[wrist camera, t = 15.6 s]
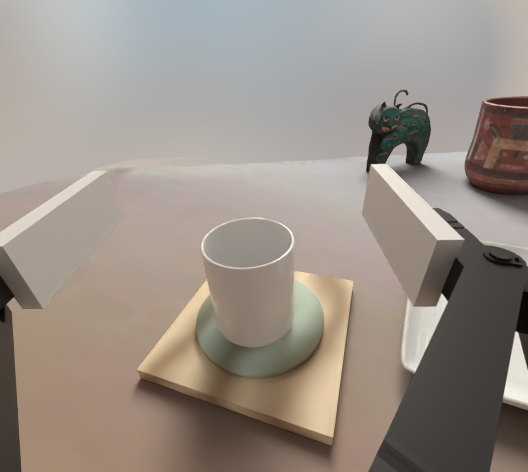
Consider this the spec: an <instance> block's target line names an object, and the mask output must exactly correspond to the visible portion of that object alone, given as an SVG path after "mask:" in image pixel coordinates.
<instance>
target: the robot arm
mask: <svg viewBox="0 0 528 472" xmlns="http://www.w3.org/2000/svg"><path fill="white" fill-rule="evenodd" d="M362 215H363V217H364V219H365V220H366V222H367V224H368V226H369V228H370V229H371V231H372V233H373V235H374V237H375V238H376V240H377V242H378V244H379V246H380V247H381V249H382V251H383V253H384V255H385V256H386V258H387V260H388V262H389V264H390V265H391V267H392V269H393V271H394V273H395V274H396V276H397V278H398V280H399V282H400V283H401V285H402V287H403V289H404V291H405V292H406V294H407V296H408V298H409V300H410V301H411V303H412V305H413V307H436V306H437V304H438V301H439V299H440V296H441V294H443V295H444V297H445V298H446V300H447V301H448V303H447V305H446V307H445V309H444V311H443V314H442V316H441V318H440V320H439V322H438V324H437V326H436V329H435V331H434V333H433V335H432V337H431V339H430V341H429V344H428V346H427V348H426V350H425V352H424V354H423V357H422V359H421V361H420V363H419V365H418V367H417V369H416V372H415V374H414V376H413V378H412V380H411V382H410V384H409V387H408V389H407V391H406V393H405V395H404V397H403V400H402V402H401V404H400V406H399V408H398V410H397V412H396V415H395V417H394V419H393V421H392V423H391V425H390V427H389V430H388V432H387V434H386V436H385V438H384V440H383V442H382V444H381V446H380V448H379V450H378V452H377V455H376V457H375V459H374V461H373V463H372V465H371V467H370V469H369V472H489V471H490V466H491V461H492V455H493V450H494V444H495V439H496V434H497V428H498V423H499V417H500V412H501V407H502V401H503V396H504V390H505V385H506V380H507V374H508V369H509V364H510V358H511V353H512V347H513V342H514V337H515V332H518V334H519V338H520V342H521V346H522V350H523V354H524V358H525V361H526V365H527V369H528V266H527V264H526V262H525V261H524V260H523V259H522V258H521V257H520V256H519V255H517V254H515V253H513V252H512V251H509V250H506V249H504V248H501V247H496V246H490V245H484V244H483V243H481V242H480V241H479V240H478V239H477V238H476V237H475V236H474V235H473V234H472V233H470V232H469V231H468V230H467V229H465V227H464V226H463V225H462V224H461V223H458V221H457V220H456V219H455V218H454V217H453V216H452V215H451V214H449V213H447V212H445V211H443V210H441V209H439V208H431V207H430V206H429V205H428V204H427V203H426V202H425V201H424V200H423V199H422V198H421V197H420V196H419V195H418V194H417V193H416V192H415V191H414V190H413V189H412V188H411V187H410V186H409V185H408V184H407V183H406V182H405V181H404V180H403V179H402V178H401V177H400V176H399V175H398V174H397V173H395V172H394V171H393V170H392V169H391V168H390V167H389V166H388V165H387V164H371V166H370V171H369V177H368V183H367V188H366V194H365V200H364V205H363V211H362ZM123 219H124V217H123V215H122V212H121V209H120V206H119V203H118V200H117V197H116V194H115V191H114V189H113V186H112V183H111V180H110V177H109V174H108V171H92V172H90V173H89V174H87V175H86V176H84V177H83V178H81V179H80V180H78V181H77V182H75V183H74V184H72V185H71V186H69V187H68V188H66V189H65V190H63V191H62V192H60V193H59V194H57V195H56V196H54V197H53V198H51V199H50V200H48V201H47V202H45V203H44V204H42V205H41V206H39V207H38V208H36V209H35V210H33V211H32V212H30V213H28V214H27V215H25V216H24V217H22V218H21V219H19V220H18V221H16V222H15V223H13V224H12V225H10V226H9V227H7V228H6V229H4V230H3V231H1V232H0V472H21V458H20V442H19V425H18V409H17V392H16V375H15V359H14V342H13V326H12V312H11V310H10V309H9V307H8V306H7V305H6V304H7V303H8V302H9V301H10V300H11V299H12V298H13V297H15V299H16V300H17V302H18V303H19V304H20V306H21V307H22V309H43V308H44V307H45V306H46V305H47V304H48V303H49V302H50V301H51V299H52V298H53V297H54V296H55V295H56V294H57V293H58V292H59V290H60V289H61V288H62V287H63V286H64V285H65V284H66V283H67V282H68V280H69V279H70V278H71V277H72V276H73V275H74V274H75V273H76V271H77V270H78V269H79V268H80V267H81V266H82V265H83V264H84V262H85V261H86V260H87V259H88V258H89V257H90V256H91V255H92V254H93V252H94V251H95V250H96V249H97V248H98V247H99V246H100V245H101V243H102V242H103V241H104V240H105V239H106V238H107V237H108V236H109V234H110V233H111V232H112V231H113V230H114V229H115V228H116V227H117V226H118V224H119V223H120V222H121V221H122V220H123Z"/></svg>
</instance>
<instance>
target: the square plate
mask: <svg viewBox="0 0 528 472" xmlns="http://www.w3.org/2000/svg"><path fill="white" fill-rule="evenodd" d="M479 241H480V242H481V243H483V244H484V245H490V246H496V247H501V248H504V249H506V250H509V251H512V252H513V253H515V254H517V255H519V256H520V257H521V258H522V259H523V260H524V261H525V262H526V264H527V266H528V248H523V247H517V246H512V245H506V244H500V243H494V242H487V241H481V240H479ZM447 303H448V301H447V300H446V298H445V297H444V295H443V294H441V296H440V299H439V301H438V304H437V306H436V307H413V305H412V303H411V301H410V300H409V298H408V296H407V304H406V312H405V320H404V329H403V336H402V345H401V362H402V365H403V367H404V368H405V369H406V370H408V371H409V372H411V373H414V374H415V372H416V369H417V367H418V365H419V363H420V361H421V359H422V357H423V354H424V352H425V350H426V348H427V346H428V344H429V341H430V339H431V337H432V335H433V333H434V331H435V329H436V326H437V324H438V322H439V320H440V318H441V316H442V314H443V311H444V309H445V307H446V305H447ZM502 402H503V403H506V404H509V405H512V406H516V407H519V408H522V409H525V410H528V369H527V365H526V361H525V358H524V354H523V350H522V346H521V342H520V338H519V334H518V332H515V337H514V342H513V347H512V353H511V358H510V364H509V369H508V374H507V380H506V385H505V390H504V396H503V401H502Z"/></svg>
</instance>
